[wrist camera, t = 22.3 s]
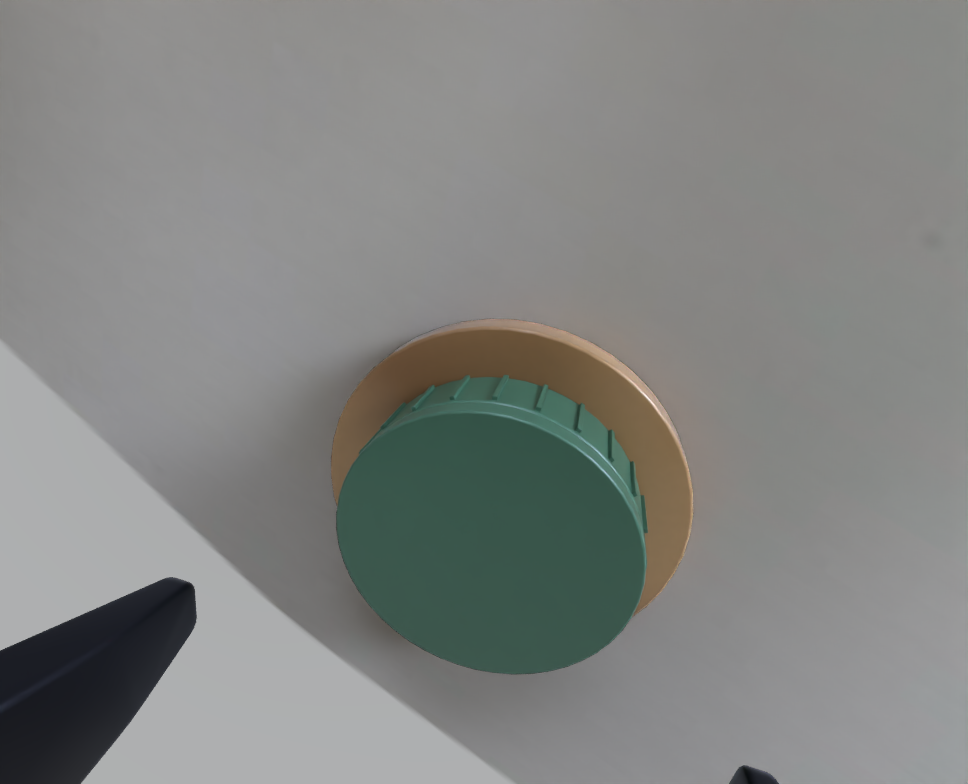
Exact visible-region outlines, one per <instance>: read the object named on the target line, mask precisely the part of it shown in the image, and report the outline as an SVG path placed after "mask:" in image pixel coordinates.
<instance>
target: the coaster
mask: <svg viewBox="0 0 968 784" xmlns="http://www.w3.org/2000/svg"><path fill="white" fill-rule="evenodd" d="M466 375H470V378H478V377H499V378H503V376H504V375H509V378H510V379H516V380H521V381H526V382H530V383H533V384H536V385H539V386H543V385H544V384H546V385H548V389H550V390H552V391H555V392H557V393H559V394H561V395H564V396H565V397H567V398H569V399H570V400H572V401H574V402H575V403H577V404H579V405H580V403H583V404H584V405H585V409H586V410H587V411H588V412H589V413H591V414H592V415H593V416H594V417H596V418H597V419H598V420H599V421H600V422H601V423H602V424H603V425H604V426H605V427H606V428H607V429H608V430H609V431H610V430H611V429H612V430H613V431H614V432H615V439H616V440H617V442H618V443H619V444H620V446H621V447H622V448H623V450H624V452H625V454H626V456H627V457H628V459H629V461H630V462H632V461H634V463H635V469H636V478H637V482H638V486H639V491H640V495H644V497H645V506H646V516H647V526H648V533H645V544H646V556H647V568H646V575H645V584H644V588H643V591H642V595H641V598H640V601H639V604H638V606H637V608H636V610H635V612H634V614H633V616H634V615H636V614H637V613H638V612H640V611H641V610H642V609H644V608H645V607H646V606H648V605H649V604H650V603H651V602H652V601H653V599H654V598H655V597H656V596H657V595H658V594H659V593H660V592H661V591H662V590H663V589H664V587H665V586H666V585H667V583H668V582H669V580H670V579H671V578H672V576H673V575H674V573H675V571H676V569H677V567H678V565H679V563H680V561H681V559H682V557H683V555H684V553H685V550H686V546H687V543H688V540H689V537H690V533H691V526H692V519H693V489H692V484H691V478H690V473H689V467H688V464H687V460H686V456H685V453H684V450H683V447H682V444H681V441H680V438H679V436H678V433H677V431H676V429H675V427H674V425H673V423H672V421H671V419H670V417H669V415H668V413H667V412H666V410H665V409H664V407H663V406H662V404H661V403H660V402H659V400H658V399H657V398H656V396H655V395H654V393H653V392H652V391H651V390H650V389H649V388H648V386H647V385H646V384H645V383H644V382H643V381H642V380H641V379H640V378H639V377H638V376H637V375H636V374H635V373H634V372H633V371H632V370H630V369H629V368H628V367H627V366H625V365H624V364H623V363H622V362H620V361H619V360H618V359H617V358H615V357H614V356H613V355H611V354H609V353H608V352H606V351H605V350H603V349H601V348H600V347H598V346H596V345H595V344H593V343H591V342H589V341H587V340H585V339H582V338H580V337H578V336H576V335H573V334H571V333H569V332H567V331H563V330H560V329H557V328H553V327H550V326H547V325H543V324H539V323H533V322H527V321H520V320H512V319H482V320H473V321H464V322H460V323H456V324H451V325H447V326H443V327H440V328H437V329H435V330H432V331H430V332H427V333H425V334H422V335H420V336H418V337H416V338H415V339H413V340H411V341H409V342H408V343H406V344H404V345H402V346H401V347H399V348H398V349H397V350H396V351H394V352H393V353H392V354H390V355H389V356H388V357H387V358H385V359H384V360H383V361H382V362H380V363H379V364H378V365H377V366H375V367H374V368H373V369H372V370H371V371H370V372H369V373H368V374H367V376H366V377H365V378H364V379H363V380H362V381H361V382H360V383H359V384H358V386H357V387H356V389H355V390H354V392H353V393H352V395H351V396H350V398H349V399H348V401H347V403H346V405H345V407H344V410H343V412H342V414H341V416H340V418H339V421H338V425H337V428H336V432H335V435H334V440H333V447H332V455H331V479H332V486H333V492H334V498H335V501H336V505H338V499H339V494H340V491H341V488H342V484H343V481H344V479H345V477H346V475H347V473H348V471H349V469H350V467H351V465H352V464H353V463H354V461H355V460H356V459H357V457H358V456H359V451H360V450H361V449H362V448H363V447H364V446H365V444H366V443H367V442H368V441H369V440H370V439H371V438H372V437H373V436H374V435H375V434H376V433H377V432H378V431H379V429H380V427H381V425H382V424H383V423H384V422H385V421H386V420H387V419H388V418H389V417H390V416H391V415H392V414H393V413H394V412H395V411H396V410H397V408H398V407H399V406H400V405H401V404H402V403H404V402H405V403H406V404H408V403H409V402H411V401H412V400H413V399H415V398H416V397H418V396H419V395H421V394H423V393H424V392H425V391H426V390H427V389H428V388H429V387H430V386H431V385H434V386H435V387H437V386H440V385H443V384H446V383H449V382H452V381H457V380H462V379H463V378H464V376H466ZM633 616H632V617H633Z"/></svg>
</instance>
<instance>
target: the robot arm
mask: <svg viewBox="0 0 968 784" xmlns="http://www.w3.org/2000/svg"><path fill="white" fill-rule="evenodd" d="M196 618H197V615H196V601H195V589H194V586H193V585H192V584H191V583H190V582H186V581H184V580H181V579H178V578H173V577H169V578H165V579H162V580H160V581H158V582H156V583H153V584H151V585H149V586H146V587H145V588H142V589H140V590H138V591H135V592H133V593H131V594H128V595H126V596H124V597H121V598H119V599H117V600H115V601H112V602H110V603H108V604H106V605H103V606H101V607H99V608H96V609H94V610H92V611H89V612H87V613H85V614H83V615H80V616H78V617H76V618H74V619H71V620H69V621H67V622H64V623H62V624H60V625H58V626H55V627H53V628H51V629H48V630H46V631H44V632H42V633H39V634H37V635H35V636H32V637H30V638H28V639H26V640H23V641H21V642H19V643H17V644H14V645H12V646H10V647H7V648H5V649H3V650H1V651H0V784H81V782H82V781H83V780H84V779H85V778H86V776H87V775H88V774H89V773H90V771H91V770H92V769H93V768H94V767H95V765H96V764H97V763H98V762H99V760H100V759H101V758H102V757H103V755H104V754H105V753H106V752H107V751H108V749H109V748H110V747H111V746H112V744H113V743H114V742H115V741H116V739H117V738H118V737H119V736H120V734H121V733H122V732H123V730H124V729H125V728H126V727H127V725H128V724H129V723H130V722H131V720H132V719H133V717H134V716H135V715H136V713H137V712H138V710H139V709H140V707H141V706H142V705H143V703H144V702H145V700H146V699H147V697H148V696H149V694H150V693H151V691H152V690H153V688H154V687H155V686H156V684H157V683H158V681H159V680H160V678H161V677H162V675H163V674H164V672H165V671H166V669H167V668H168V666H169V665H170V663H171V662H172V660H173V659H174V657H175V656H176V655H177V653H178V652H179V650H180V649H181V647H182V646H183V644H184V643H185V641H186V640H187V638H188V637H189V635H190V634H191V632H192V630H193V628H194V626H195V623H196ZM729 784H779V783H778V782H777V780H776V779H775V778H774V777H773V776H772V775H771V774H769V773H767V772H765V771H762V770H759V769H756V768H752V767H749V766H746V765H743V766H741V767H739V768H738V770H737V771H736V773H735V775H734V776H733V778H732V780H731V781H730V783H729Z"/></svg>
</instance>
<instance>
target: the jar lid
mask: <svg viewBox="0 0 968 784" xmlns="http://www.w3.org/2000/svg"><path fill="white" fill-rule="evenodd" d="M336 529H337V536H338V543H339V547H340V551H341V554H342V558H343V561H344V563H345V566H346V568H347V570H348V573H349V575H350V577H351V579H352V580H353V582H354V584H355V586H356V587H357V589H358V591H359V592H360V594H361V595H362V596H363V598H364V599H365V600H366V602H367V603H368V604H369V606H370V607H371V608H372V609H373V610H374V611H375V612H376V613H377V614H378V615H379V617H380V618H381V619H382V620H384V621H385V622H386V623H387V624H388V625H389V626H390V627H391V628H393V629H394V630H395V631H396V632H398V633H399V634H400V635H402V636H403V637H404V638H406V639H407V640H408V641H410V642H412V643H413V644H415V645H417V646H418V647H420V648H422V649H423V650H425V651H427V652H429V653H431V654H433V655H435V656H437V657H439V658H442V659H444V660H447V661H449V662H452V663H455V664H457V665H461V666H464V667H468V668H472V669H475V670H480V671H486V672H492V673H502V674H534V673H541V672H549V671H553V670H557V669H561V668H565V667H568V666H570V665H573V664H575V663H578V662H581V661H583V660H585V659H586V658H588V657H590V656H592V655H594V654H596V653H597V652H599V651H600V650H601V649H603V648H604V647H605V646H607V645H608V644H609V643H610V642H611V641H612V640H613V639H614V638H615V637H616V636H617V635H618V634H619V633H620V632H621V631H622V630H623V629H624V627H625V626H626V625H627V623H628V622H629V620H630V619H631V618H632V616H633V614H634V612H635V610H636V608H637V606H638V604H639V601H640V598H641V595H642V591H643V588H644V584H645V575H646V568H647V556H646V544H645V533H648V526H647V516H646V506H645V497H644V495H640V491H639V486H638V482H637V478H636V469H635V463H634V461H632V462H630V461H629V459H628V457H627V456H626V454H625V452H624V450H623V448H622V447H621V446H620V444H619V443H618V442H617V440H616V439H615V432H614V431H613V430H612V429H611V430H610V431H609V430H608V429H607V428H606V427H605V426H604V425H603V424H602V423H601V422H600V421H599V420H598V419H597V418H596V417H594V416H593V415H592V414H591V413H589V412H588V411H587V410H586V409H585V405H584V404H583V403H580V405H579V404H577V403H575V402H574V401H572V400H570V399H569V398H567V397H565V396H564V395H561V394H559V393H557V392H555V391H552V390H550V389H548V385H546V384H544V385H543V386H539V385H536V384H533V383H530V382H526V381H521V380H516V379H510V378H509V375H504V376H503V378H499V377H478V378H470V375H466V376H464V378H463V379H462V380H457V381H452V382H449V383H446V384H443V385H440V386H437V387H435V386H434V385H431V386H430V387H429V388H428V389H427V390H426V391H425V392H424V393H423V394H421V395H419V396H418V397H416V398H415V399H413V400H412V401H411V402H409V403H408V404H406V403H405V402H404V403H402V404H401V405H400V406H399V407H398V408H397V410H396V411H395V412H394V413H393V414H392V415H391V416H390V417H389V418H388V419H387V420H386V421H385V422H384V423H383V424H382V425H381V427H380V429H379V431H378V432H377V433H376V434H375V435H374V436H373V437H372V438H371V439H370V440H369V441H368V442H367V443H366V444H365V446H364V447H363V448H362V449H361V450H360V451H359V456H358V457H357V459H356V460H355V461H354V463H353V464H352V465H351V467H350V469H349V471H348V473H347V475H346V477H345V479H344V481H343V484H342V488H341V491H340V494H339V499H338V505H337V512H336Z"/></svg>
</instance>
